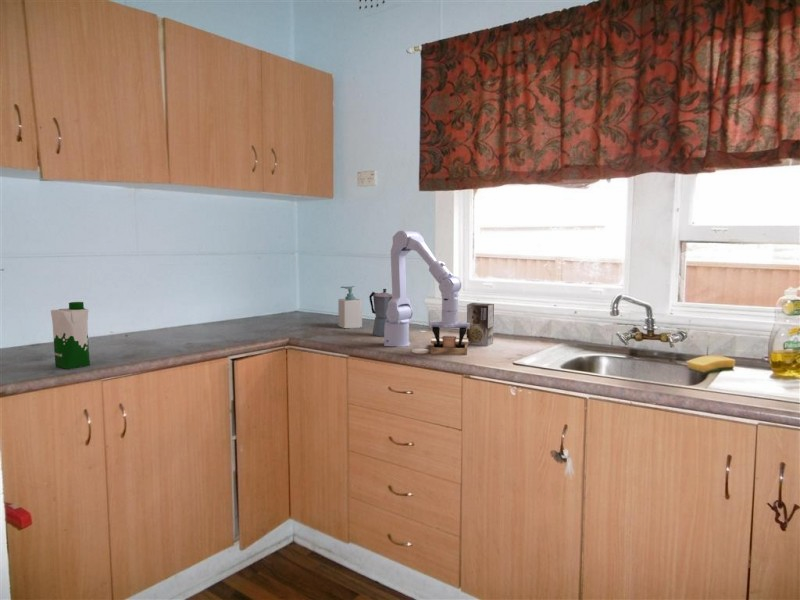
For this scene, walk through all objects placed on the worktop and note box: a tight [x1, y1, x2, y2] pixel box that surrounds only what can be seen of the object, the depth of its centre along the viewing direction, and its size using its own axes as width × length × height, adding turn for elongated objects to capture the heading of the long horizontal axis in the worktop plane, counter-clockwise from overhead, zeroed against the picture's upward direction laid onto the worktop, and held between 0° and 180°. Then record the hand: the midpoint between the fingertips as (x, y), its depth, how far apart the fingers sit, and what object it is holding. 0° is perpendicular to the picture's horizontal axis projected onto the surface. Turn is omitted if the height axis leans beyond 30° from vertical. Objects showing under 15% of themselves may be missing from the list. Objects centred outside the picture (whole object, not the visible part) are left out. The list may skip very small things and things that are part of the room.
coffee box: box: [466, 302, 495, 347], centre depth 213 cm, size 9×6×16 cm
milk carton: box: [50, 301, 91, 370], centre depth 171 cm, size 9×9×20 cm
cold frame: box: [429, 343, 468, 356], centre depth 201 cm, size 13×16×2 cm
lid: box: [430, 336, 469, 345], centre depth 205 cm, size 14×9×1 cm, turn 83°
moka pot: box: [368, 288, 392, 338], centre depth 232 cm, size 10×15×20 cm, turn 53°
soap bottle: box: [337, 285, 363, 329], centre depth 253 cm, size 9×9×19 cm
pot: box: [441, 335, 457, 348], centre depth 197 cm, size 5×5×6 cm
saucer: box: [411, 348, 430, 354], centre depth 198 cm, size 6×6×1 cm
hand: (449, 348), depth 197 cm, fingers open, 7 cm apart
